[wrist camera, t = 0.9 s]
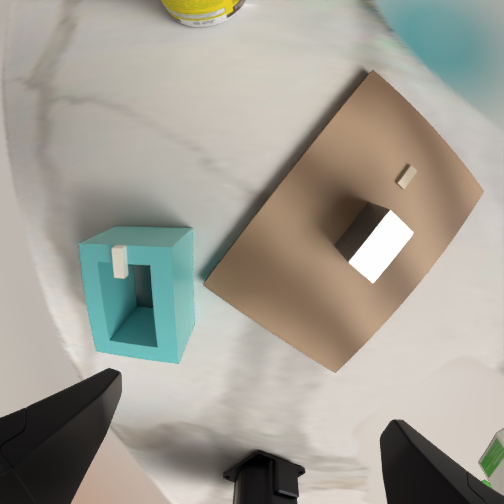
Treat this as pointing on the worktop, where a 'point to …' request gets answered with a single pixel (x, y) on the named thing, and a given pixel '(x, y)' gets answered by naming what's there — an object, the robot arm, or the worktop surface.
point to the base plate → (340, 218)
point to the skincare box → (494, 462)
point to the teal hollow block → (124, 296)
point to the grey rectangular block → (373, 240)
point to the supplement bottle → (202, 11)
